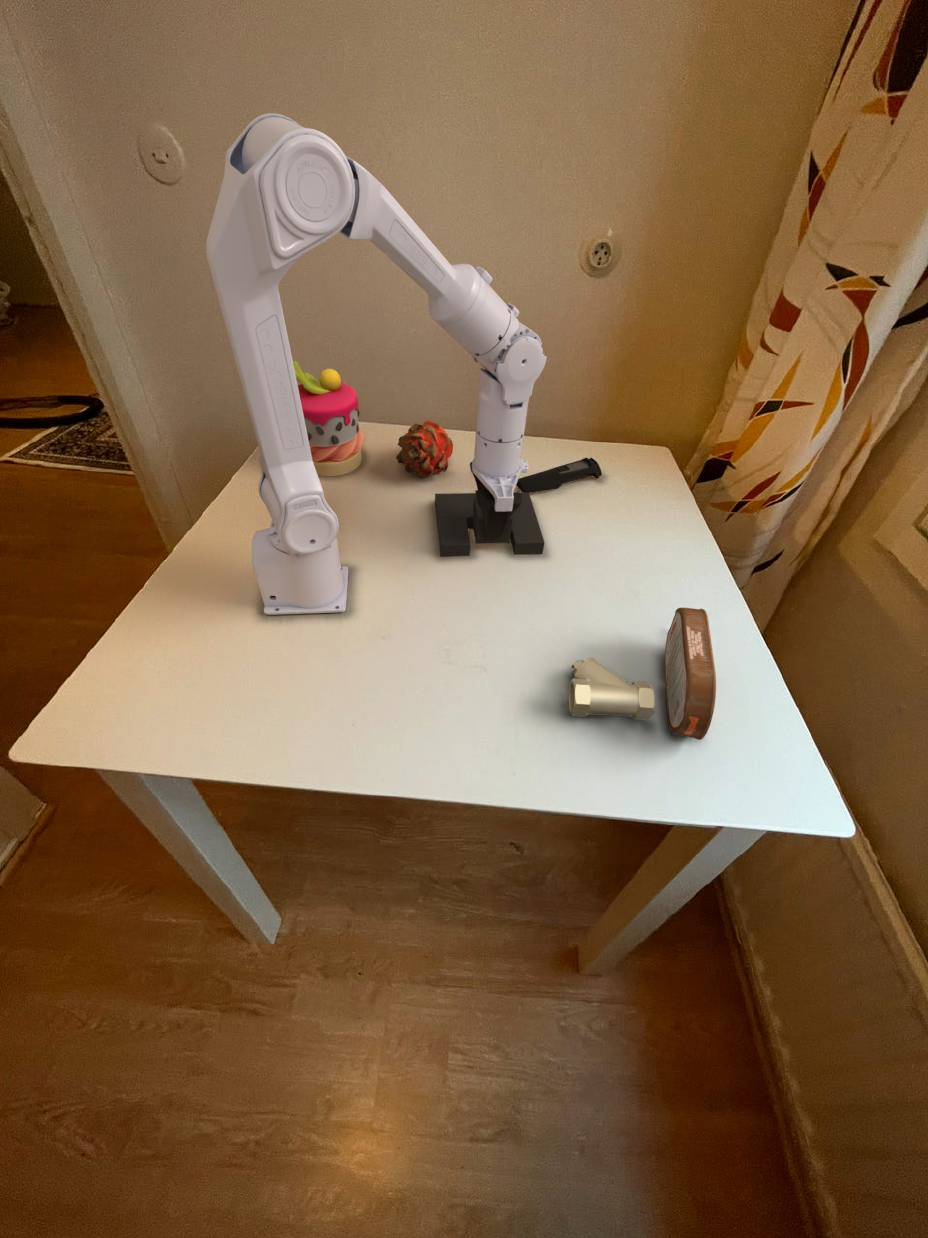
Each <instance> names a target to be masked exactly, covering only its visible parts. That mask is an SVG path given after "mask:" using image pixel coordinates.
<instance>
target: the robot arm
mask: <svg viewBox="0 0 928 1238" xmlns="http://www.w3.org/2000/svg"><path fill="white" fill-rule="evenodd" d="M339 233H340V234H341V235H343V236H344V237H345V238H346V239H348V240H350V241H370V242H371V243H372V244H373V245H374V246H375V247H376V248H377V249H378V250H380V251H381V252H382V254H384V255H385V257H387V258H388V259H389V260H390V261H391V262H393V263H394V264H395V265H396V266H397V267H398V268H399V269H400V270H401V271H402V272H404V273H405V275H406V276H407V277H409V278H410V279H411V280H412V281H414V283H416V285H418V286H419V287H420V288H421V289H422V290H423V291H424V292H425V293H427V300H428V311H429V315H430V318H431V319H432V320H433V321H434V322H435V323H436V324H438V325H439V327H440V328H442V329H443V330H444V331H445V332H446V333H447V334H448V335H449V336H450V337H451V338H452V339H454V341H456V343H458V344H459V345H460V346H461V347H462V348H463V349H464V350H465V351H466V352H467V353H468V354H469V355H470V356H471V358H472V359H473V362H475V363H477V364H479V365H480V369H479V380H478V381H479V382H478V394H477V395H478V397H477V408H476V410H477V412H476V424H475V425H476V426H475V439H474V451H473V453H474V455H473V459H472V461H470V463H469V468H470V473H471V474H472V476H473V478H474V481H475V484H476V489H475V491H474V493H475V494H476V500H477V503H478V505H479V507H480V509H481V511H482V514H483V526H484V532H485V537H486V538H501V537H502V535H503V533H504V530H505V528H506V525H507V523H508V521H509V519H510V517H511V515H512V514H513V513H514V511H515V510H516V509H517V508H518V507H519V506H520V505H521V502H522V497H521V493H516V492H515V491H516V487H517V486H516V484H517V481H518V479H519V478H520V476H521V474H527V473H529V472H530V465H529V464H530V463H529V462H528V460H526V459H522V453H523V446H524V440H525V430H526V423H527V417H528V416H527V415H528V409H529V401H530V397H531V396H532V395H533V391H534V385H535V383H536V381H537V380H538V378H539V377H540V375H542V373H543V370H544V368H545V366H546V363H547V359H548V356H547V355H545V354H544V348H543V347H542V346H543V342H542V339H541V337H540V336H539V335H538V333H536V332H535V331H534V330H532V329H530V328H529V327H528V326H526V325H525V324H523V323H521V321H519V318H518V316H519V315H520V310H519V309H518V308H517V307H516V306H515V305H513V304H512V303H510V302H508V303H506V302H505V301H504V300H503V299H502V298H501V296H500V295H498V293H497V292H496V291H495V290H494V289H493V288H492V287H491V283H492V282H493V277H492V276H491V274H490V273H489V272H488V271H487V270H486V269H484V268H483V267H481V266H479V265H478V266H477V267H476V268H475V267H474V266H473V265H471V264H469V263H456V264H451V263H450V262H449V261H448V259H447V258H446V257H445V256H444V255H443V253H441V251H440V250H439V249H438V248H437V246H436V245H435V244H434V243H433V241H431V240H430V239H429V238H428V236H427V235H426V234H425V233H424V232H423V230H422V229H421V228H420V227H419V226H418V224H417V223H416V222H415V221H414V220H413V219H412V217H411V216H410V215H409V214H408V212H406V210H405V209H404V208H403V207H402V205H400V203H399V202H398V201H397V200H396V198H395V197H394V196H393V195H392V194H391V193H390V191H389V190H388V189H387V188H386V187H385V186H384V185H383V184H382V183H381V182H380V181H379V180H378V179H377V178H376V177H375V176H374V175H373V174H372V173H371V172H369V171H368V170H367V169H366V168H364V167H363V166H362V165H361V164H360V163H359V162H357V161H356V160H354V159H353V158H351V157H349V156H347V155H346V154H345V152H344V151H343V150H342V148H341V147H340V146H339V144H337V143H336V141H334V140H333V139H332V138H331V137H330V136H328V135H327V134H325V133H324V132H322V131H320V130H317V129H315V128H310V127H304V126H302V125H300V124H299V123H298V122H297V121H295V120H293V119H292V118H290V117H289V116H286V115H284V114H280V113H273V112H272V113H270V112H269V113H263V114H261V115H258V116H257V117H255V118H253V119H252V120H251V121H250V122H249V123H248V124H247V125H246V127H245V128H244V129H243V130H242V132H241V133H240V134H239V135H238V137H237V138H236V139H235V140H234V142H233V143H232V144H230V146H229V148H228V149H227V151H226V153H225V161H224V172H223V178H222V182H221V186H220V190H219V193H218V197H217V201H216V205H215V207H214V212H213V215H212V220H211V223H210V225H209V231H208V234H207V238H206V243H205V252H206V260H207V263H208V267H209V271H210V274H211V278H212V282H213V286H214V289H215V293H216V297H217V300H218V304H219V308H220V312H221V315H222V318H223V322H224V326H225V330H226V333H227V337H228V341H229V345H230V348H231V351H232V356H233V359H234V362H235V366H236V369H237V370H236V371H237V374H238V377H239V381H240V384H241V388H242V392H243V396H244V399H245V403H246V407H247V410H248V414H249V417H250V422H251V425H252V429H253V432H254V435H255V440H256V443H257V446H258V450H259V454H260V455H259V457H258V460H259V464H260V469H261V473H260V477H259V482H258V486H257V487H258V489H257V490H258V493H259V497H260V499H261V501H262V502H263V504H264V505H265V507H266V510H267V512H268V515H269V517H270V518H271V521H270V524H269V528H266V529H259V530H256V531H255V532H254V533H253V536H252V541H251V562H252V568H253V572H254V575H255V580H256V582H257V586H258V589H259V593H260V595H261V598H262V599H261V600H262V602H263V605H264V607H263V613H264V615H266V616H272V615H275V616H277V615H300V614H301V615H302V614H327V613H328V614H331V613H344V612H346V610H347V598H348V583H349V570H350V569H349V567H348V566H346V565H341V558H340V551H339V544H338V538H337V537H338V536H337V535H338V533H339V529H340V523H339V519H338V516H337V513H336V512H335V511H334V510H333V509H332V507H331V506H330V505H329V503H328V501H327V500H326V498H325V492H324V489H323V486H322V483H321V481H320V476H319V475H317V472H316V469H315V466H314V463H313V460H312V455H311V450H310V445H309V440H308V435H307V430H306V425H305V420H304V415H303V410H302V405H301V400H300V395H299V390H298V385H299V384H298V381H297V379H296V375H295V370H294V365H293V361H294V360H293V356H292V351H291V346H290V345H291V344H290V340H289V336H288V330H287V325H286V320H285V316H284V310H283V305H282V300H281V295H280V290H279V285H280V282H281V281H282V279H283V278H284V277H285V276H286V275H287V273H288V272H289V271H290V270H291V268H292V267H293V266H294V265H295V263H296V262H297V261H298V259H300V258H301V257H302V256H304V255H306V254H308V253H309V252H311V251H312V250H314V249H316V248H318V247H320V246H321V245H322V244H325V243H326V242H328V241H329V240H331V239H333V237H335V236H336V235H337V234H339Z"/></svg>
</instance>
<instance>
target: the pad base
mask: <svg viewBox="0 0 928 1238" xmlns="http://www.w3.org/2000/svg"><path fill="white" fill-rule="evenodd" d="M515 493H521V497H522V502H521V505H520V506H519V507H518V508H517V509H516V510H515V511H514V513H513V514H512V518H513V521H512V528H511V536H510V545H511V550H512V554H513V555H514V556H519V555H522V556H523V555H527V556H528V555H543V553H544V547H545V542H546V541H545V540H544V537H543V533H542V529H541V527H540V523H539V521H538V517H537V514H536V511H535V507H534V504H533V502H532V498H531V495H530V494H531V493H529V492H522V491H519V492H517V491H516V492H515ZM474 499H476V494H475V492H462V493H461V492H459V493H457V492H456V493H455V492H454V493H453V492H451V493H435V494H434V509H435V519H436V529H437V537H438V538H437V539H438V547H439V556H440V557H444V558H445V557H470V556H471V538H470V533H469V529H471V530H473V525H472V520H473V506H474Z"/></svg>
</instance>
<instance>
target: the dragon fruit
mask: <svg viewBox="0 0 928 1238" xmlns="http://www.w3.org/2000/svg"><path fill="white" fill-rule="evenodd" d="M397 446H398V447H400V448H401V449H400V451H399V453H398V454H396V461H397V463H398V464H400V465H401V464H402V465H404V470H405V471H406V472H407V473H411V474H415V475H416V476H419V477H422V479H428V478H430V477H431V476H432V475H433V473H437V474H439V473H441V472H443V473H445V472H447V470H448V469H449V459H450V458H451V456H452V455H453V453H454V443H453V440H452V439H451V437H449V434H448V433H447V432H446V430H445V429H444V426H442V425H441V424H440V423H438V422H435V421H433V420H431V419H427V420H425V421H424V422H423V423H422V424H419V423H414V424H413V425H411V426H410V427H409V428H408V429H407V432H406V433H405V434H404V435H402V436H399V438H398V442H397Z"/></svg>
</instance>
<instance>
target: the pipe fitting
mask: <svg viewBox="0 0 928 1238" xmlns="http://www.w3.org/2000/svg"><path fill="white" fill-rule="evenodd" d="M571 669H572V674H573V678H572V679H571V680H570V682H569V685H568V693H567V707H568V711H569V713H570V715H571V716H572V717H584V718H587V716H588V715H595V716H596V715H598V716H616V717H632V718H633V719H634V720H639V721H649V720H650V719H651V718H652V716H653V714H654V712H655V711H654V710H655V692H654V688H653V687H652V685H651V684H650V683H648V682H643V681H633V682H632V683H630V682H628V681H627V680H625V679H624V678H622V677H621V676H620V675H618V674H617V673H615V672H614V671H613V670H611V669H609V668H608V667H607V666H605V665H603V664H602V663H601V662H599V661H598V660H596V659H594V658H593V657H588V658H586V659H585V660H584V659H580V660H575V661H573V663H572V664H571Z"/></svg>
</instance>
